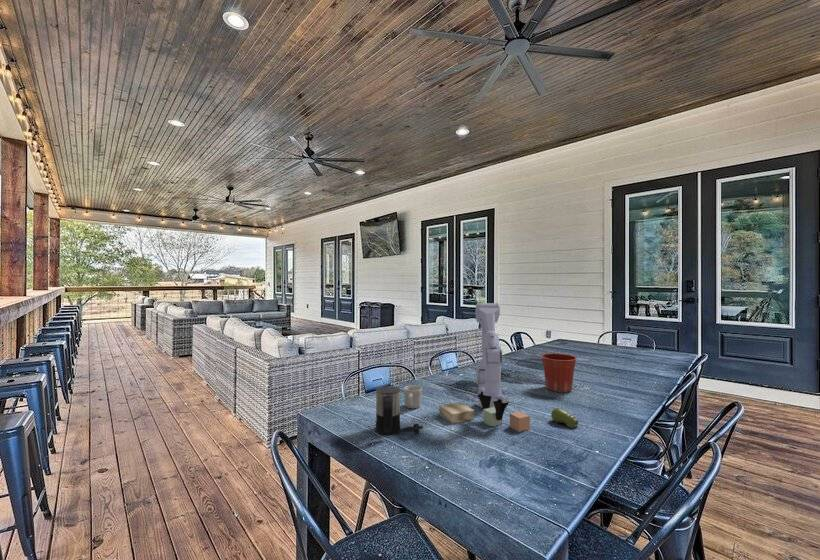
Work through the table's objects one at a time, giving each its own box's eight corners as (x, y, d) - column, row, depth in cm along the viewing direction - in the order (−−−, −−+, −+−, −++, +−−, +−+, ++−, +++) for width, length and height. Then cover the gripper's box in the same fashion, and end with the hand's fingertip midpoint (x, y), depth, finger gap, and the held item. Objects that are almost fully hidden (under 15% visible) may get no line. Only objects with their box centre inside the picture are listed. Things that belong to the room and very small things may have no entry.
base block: (460, 411, 154) (460, 402, 153) (474, 420, 144) (474, 410, 144) (439, 415, 149) (439, 405, 149) (452, 424, 140) (452, 414, 140)
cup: (419, 413, 151) (419, 393, 151) (400, 411, 153) (400, 392, 153) (423, 404, 162) (423, 385, 162) (405, 402, 163) (405, 384, 163)
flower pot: (533, 386, 188) (533, 354, 188) (557, 382, 195) (558, 352, 195) (559, 396, 173) (559, 361, 173) (584, 391, 180) (584, 358, 180)
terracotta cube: (520, 424, 140) (520, 411, 140) (529, 429, 135) (529, 415, 135) (509, 427, 138) (509, 413, 138) (519, 432, 133) (519, 418, 133)
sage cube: (493, 420, 144) (493, 407, 144) (502, 424, 140) (502, 411, 140) (483, 422, 142) (483, 409, 142) (491, 427, 138) (491, 413, 138)
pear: (557, 404, 146) (582, 416, 138) (555, 417, 147) (579, 429, 139) (549, 407, 142) (574, 419, 135) (547, 420, 143) (572, 433, 135)
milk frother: (372, 426, 137) (372, 386, 137) (412, 420, 143) (412, 382, 143) (383, 442, 124) (383, 398, 124) (426, 435, 130) (427, 393, 129)
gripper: (472, 376, 146) (472, 411, 146) (497, 386, 133) (496, 424, 133) (487, 374, 149) (487, 408, 149) (512, 384, 136) (512, 421, 136)
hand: (492, 416), depth 141 cm, fingers open, 7 cm apart
